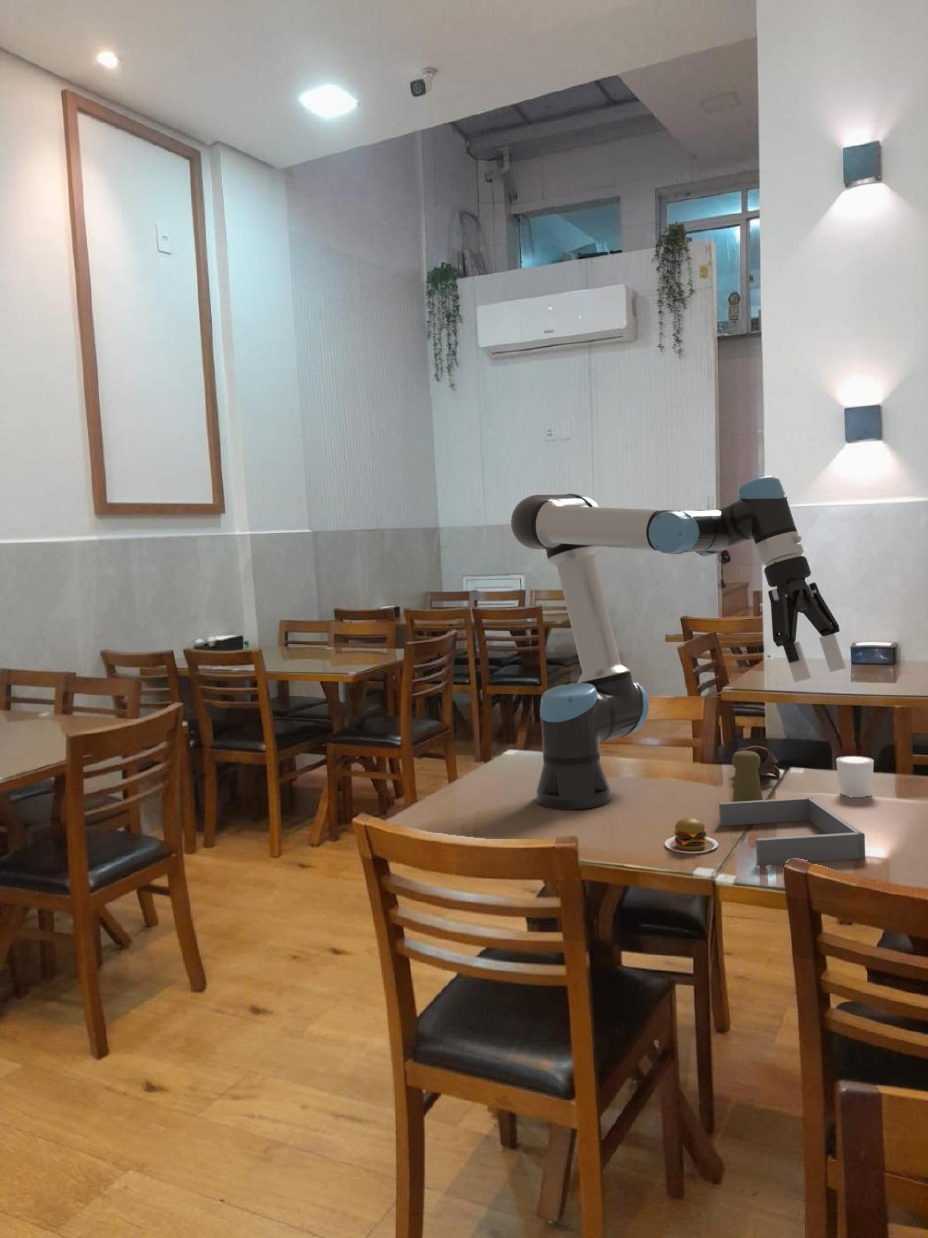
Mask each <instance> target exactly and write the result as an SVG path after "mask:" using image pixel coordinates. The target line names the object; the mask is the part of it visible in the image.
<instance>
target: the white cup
mask: <svg viewBox="0 0 928 1238" xmlns="http://www.w3.org/2000/svg"><path fill="white" fill-rule="evenodd" d="M835 761H836V768H837V770H836V771H837V775H838V784H839V791H840V792H839V793H840V795H841V794H842V795H841V796H843V795H846V796H852V797H865V796H869V795H872V789H873V776H874V764H875V763H874V761H875V760H874V759H872V758H871V757H868V756H861V755H846V756H840V757H839V756H838V757H837V758H836V760H835ZM846 796H845V797H846ZM852 797H851V798H852ZM869 797H870V796H869ZM865 798H866V797H865Z"/></svg>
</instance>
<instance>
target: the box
mask: <svg viewBox="0 0 928 1238" xmlns="http://www.w3.org/2000/svg"><path fill="white" fill-rule="evenodd" d="M718 812H719V813H718V815H719V826H721V827H724V826H740V825H741V826H743V825H758V824H759V825H760V824H773V823H776V824H777V823H789V822H790V823H791V822H803V821H804V822H805V821H809V822H810V823H812V824H813V825H814V826H816V827H817V828H819V830H821V831H822V832H823V833H824V834H823V833H822V834H808V835H794V836H793V835H791V836H778V837H777V836H776V837H775V836H773V837H762V838H761V837H760V838H759V837H758V838H755V847H756V848H755V849H756V864H757V865H758V866H765V865H766V866H768V865H781V864H782V865H783V864H786V863H785V862H786V861H787V860H788V859H791V858H799V859H804V860H808V861H811V862H810V863H813V862H814V863H815V862H828V861H829V862H832V861H847V860H864V859H866V844H865V843H866V842H865V839H866V838H865V837H866V836H865V833H864V832H863V831H861V830H860V829H858V828H857V827H855V826H854V825H852V824H851V823H849V822H848V821H846V819H844V818H842V817H841V816H839V815H838V814H837V813H835V812H834V811H833V810H831V809H830V808H828V807H827V806H825V804H824V805H823V804H822V803H821V802H820V801H818V800H817V799H815V798H814V797H812V796H809V797H792V798H790V797H789V798H776V799H774V798H772V799H763V800H757V801H740V802H732V801H726V802H724V801H723V802H718Z"/></svg>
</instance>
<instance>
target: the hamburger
mask: <svg viewBox="0 0 928 1238" xmlns="http://www.w3.org/2000/svg"><path fill="white" fill-rule="evenodd" d="M674 828H675V829H674V830H673V835H674V836H673V837H670V838H667V839H666V840H665V841H664V846H665V847H666V848H668V849H669V850H671V851H674V852H677V853H682V854H694V855H695V854H704V853H708V852H711V851H712V850H715V849H716V848H717V847H719V843H718V841H716V840H715V839H714V838H711V837H708V832H707V830H706V827H705V824H704V823H703V822H702V821H701V820H699V819H697V818H694V817H683V818H681V819H679V820H677V822H676V824H675V825H674ZM674 842H675V844H676V845H675V846H676V847H678V849H681V850H676V849H673V848H672V847H671V846H670V845H671V844H672V843H674ZM707 843H709V844H711V846H712V848H710V849H708V850H703V851H699V850H701V849H703V848H704V847H705V846H706V844H707ZM710 850H711V851H710Z"/></svg>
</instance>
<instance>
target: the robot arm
mask: <svg viewBox="0 0 928 1238" xmlns="http://www.w3.org/2000/svg"><path fill="white" fill-rule="evenodd" d="M738 497H739V499H738V500H736V501H734V502H733V503H731V504H728V505H726V506H723V507H721V508H718V509H707V510H706V509H705V510H703V509H702V510H701V509H700V510H675V509H674V510H672V509H671V510H668V509H667V510H666V509H664V510H663V509H661V510H660V509H648V508H647V509H646V508H645V509H644V508H642V509H641V508H621V507H620V508H619V507H618V508H617V507H599V505H598V503H596V502H595V501H594V500H593V499H592V498H590V497H588V496H586V495H582V494H577V493H576V494H575V493H567V494H533V495H530V496H528V497H525V498H524V499H522V500H521V501H519V502H518V504H517V505H516V506H515V508H514V509H513V511H512V515H511V519H510V526H511V531H512V533H513V536H514V537H515V539H516V540H517V541H518V542H519V543H520V544H521V545H523V546H525V547H526V548H529V549H532V550H545V552H546V556H547V560H548V562H549V563H550V564H552V565H554V566H555V567H556V569H557V572H558V577H559V582H560V586H561V590H562V594H563V598H564V601H565V606H566V609H567V614H568V618H569V623H570V627H571V632H572V637H573V638H574V639H573V641H574V643H575V648H576V652H577V656H578V660H579V664H580V668H581V674H580V677H579V678H578V680H577V682H572V683H568V684H561V685H556V686H553V687H551V688H549V689H547V690H546V691H544V692H543V694H541V697H540V708H539V709H540V710H539V716H540V726H541V742H542V743H541V744H542V755H543V760H542V761H543V766H542V769H541V773H540V776H539V779H538V783H537V787H536V801H537V803H538V804H539V805H541V806H543V807H545V808H546V807H547V808H549V809H550V808H551V809H556V810H557V809H558V810H583V809H585V810H586V809H592V808H597V807H601V806H603V805H606V804H607V803H609V802H610V801H611V797H612V796H611V787H610V784H609V781H608V780H607V776H606V773H605V771H604V768H603V766H602V765H603V764H602V763H601V753H600V749H601V748H600V743H602V742H606V741H609V740H613V739H617V738H623V737H626V736H629V735H630V734H633V733H635V732H637V731H638V730H639V729H641V728H642V727H643V726H644V724H645V722H646V720H647V718H648V716H649V710H650V701H649V698H648V697H649V696H648V694H647V692H646V690H645V688H644V687H643V686H641V685H640V683H639V682H638V681H635V680H633V677H632V673H631V670H630V669H629V667H626V666H625V665H623V664H622V661H621V658H620V653H619V649H618V647H617V646H618V645H617V642H616V637H615V633H614V630H613V626H612V621H611V617H610V613H609V608H608V605H607V600H606V597H605V592H604V588H603V584H602V581H601V580H602V579H601V576H600V571H599V568H598V563H597V561H596V560H597V559H596V557H597V555H598V552H600V549H601V547H603V548H605V547H606V548H618V549H619V548H620V549H633V550H646V551H656V552H657V551H658V552H660V553H663V554H670V555H681V554H684V553H694V552H695V553H696V554H698V555H699V556H700V557H709V556H712V555H716V554H721V553H723V552H724V551H726V550H728V549H730V548H733V547H735V546H737V545H740V544H742V543H745V542H747V541H750V540H752V539H753V541H754V544H755V547H756V550H757V554H758V557H759V561H760V564H761V565H762V566H764V567H765V568H764V569H763V572H764V575H765V576H764V577H765V578H766V582H767V584H768V586H769V587H770V588H773V589H771V590H768V592H767V594H768V597H769V600H770V601H769V602H770V611H771V626H772V627H771V629H772V631H771V632H772V640H773V643H774V644H775V646H776V647H779V648H780V647H783V650H784V653H785V657H786V659H787V663H788V665H789V669H790V671H791V674H792V678H793V681H794V683H798V682H801V681H804V680H809V679H811V678H812V677H811V674H810V671H809V668H808V664H807V662H806V658H805V654H804V652H803V649H802V646H801V643H800V641H796V640H797V639H796V638H797V629H798V620H799V619H798V617H799V614H803V615H804V616H805V617H806V619H807V620H808V621H809V622H810V623H811V625H812V626H813V627H814V629H815V630H816V631H817V633H818V634H820V636H821V637H819V638H818V639H819V642H820V646H821V648H822V652H823V655H824V657H825V661H826V663H827V666H828V669H829V672H830V673H832V672H836V671H840V670H844V669H846V668H847V667H846V663H845V660H844V658H843V655H842V652H841V649H840V646H839V643H838V640H837V637H836V636H837V635H836V634H837V633H839V632H840V625H839V623H838V622H837V620H836V618H835V617H834V615H833V613H832V611H831V610H830V608H829V607H828V605H827V603H826V602H825V600H824V597H822V595H821V592H820V590H819V587H818V585H817V583H816V582H810V583H807V582H806V578H809V577H810V576H811V574H812V570H811V567H810V565H809V561H808V559H807V556H805V555H802V554H803V553H804V552H805V551H804V547H803V545H802V542H801V540H802V536H800V535H799V533H798V530H797V527H796V524H795V522H794V521H795V520H794V519H793V515H792V512H791V509H790V505H789V503H788V496H787V495H786V493H785V491H784V487H783V486H782V483H781V480H780V479H779V478H778V477H777V476H775V475H767V476H762V477H758V478H755V479H752V480H749V481H747V482H745V483H744V484H743V485H741V486H740V487H739V489H738Z"/></svg>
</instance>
